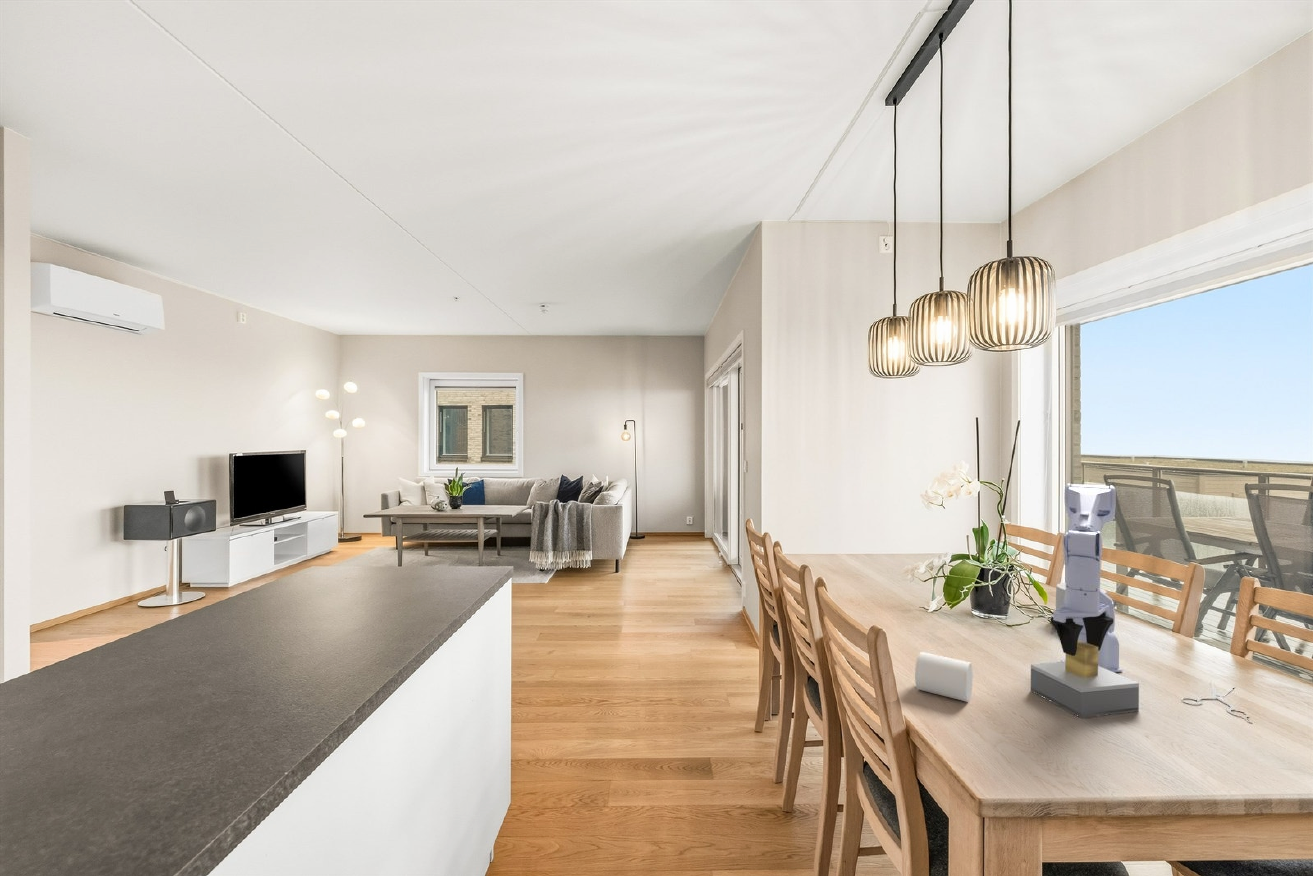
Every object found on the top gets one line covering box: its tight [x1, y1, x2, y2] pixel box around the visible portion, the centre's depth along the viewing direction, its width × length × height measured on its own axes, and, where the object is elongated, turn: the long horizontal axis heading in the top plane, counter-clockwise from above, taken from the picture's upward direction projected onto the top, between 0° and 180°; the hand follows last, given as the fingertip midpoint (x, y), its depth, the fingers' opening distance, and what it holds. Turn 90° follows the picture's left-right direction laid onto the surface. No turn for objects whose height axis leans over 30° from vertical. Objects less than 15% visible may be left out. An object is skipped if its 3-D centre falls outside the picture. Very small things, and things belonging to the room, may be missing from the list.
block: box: [1065, 640, 1098, 678], centre depth 121 cm, size 4×4×6 cm
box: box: [1030, 667, 1140, 719], centre depth 121 cm, size 14×12×5 cm
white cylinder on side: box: [914, 651, 974, 703], centre depth 126 cm, size 12×10×8 cm
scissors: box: [1180, 680, 1253, 724], centre depth 122 cm, size 11×1×20 cm
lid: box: [1030, 661, 1140, 693], centre depth 121 cm, size 14×12×1 cm
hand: (1081, 651), depth 121 cm, fingers open, 7 cm apart
